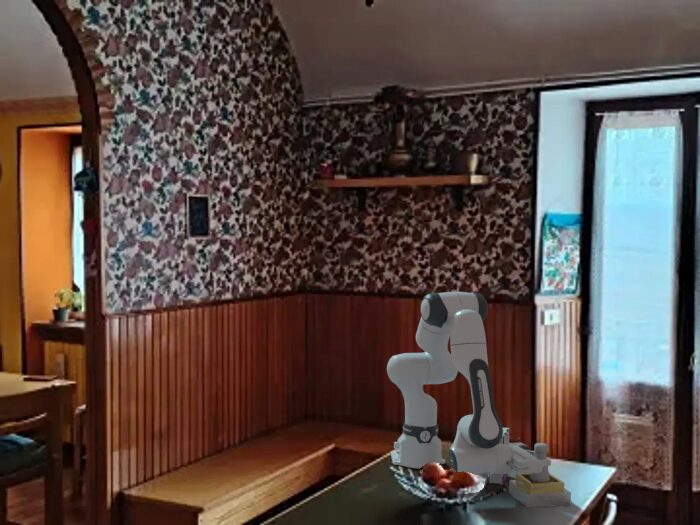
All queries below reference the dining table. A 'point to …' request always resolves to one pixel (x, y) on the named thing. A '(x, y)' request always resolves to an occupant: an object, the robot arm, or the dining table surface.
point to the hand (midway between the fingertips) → (543, 458)
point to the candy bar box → (500, 477)
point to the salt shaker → (544, 475)
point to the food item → (518, 443)
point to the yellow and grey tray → (539, 491)
